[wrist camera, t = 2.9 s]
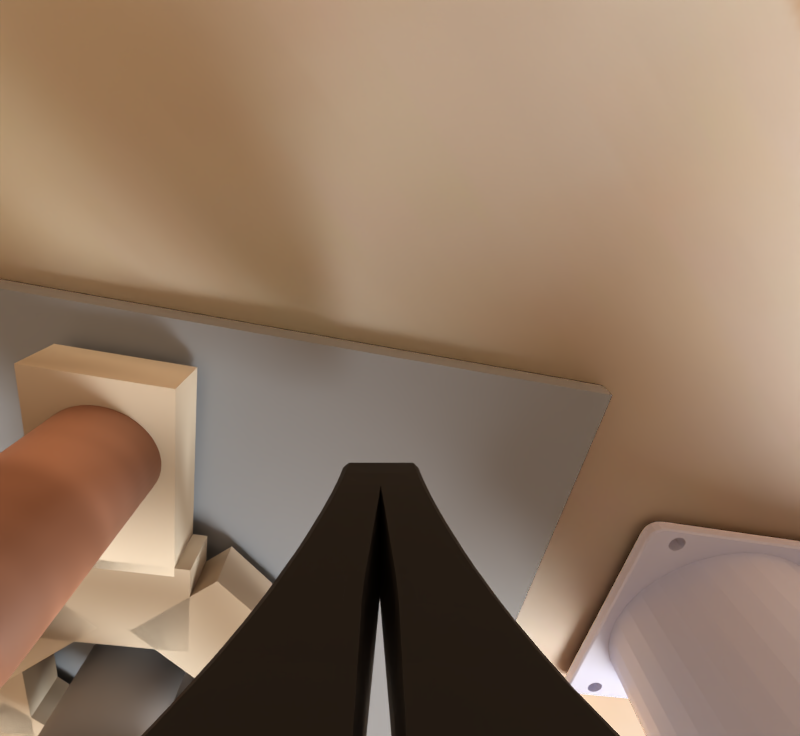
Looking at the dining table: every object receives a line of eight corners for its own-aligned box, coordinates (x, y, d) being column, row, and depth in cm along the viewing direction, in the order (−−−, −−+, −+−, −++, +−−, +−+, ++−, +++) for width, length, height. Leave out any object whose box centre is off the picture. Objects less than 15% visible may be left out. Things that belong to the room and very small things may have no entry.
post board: (602, 385, 12) (746, 519, 7) (416, 831, 21) (426, 1022, 16) (-438, 202, 9) (-1278, 222, 5) (-142, 801, 18) (-326, 1017, 14)
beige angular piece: (297, 773, 17) (260, 1025, 12) (-24, 751, 16) (-218, 1023, 11) (371, 395, 11) (361, 586, 6) (-150, 310, 10) (-758, 457, 5)
